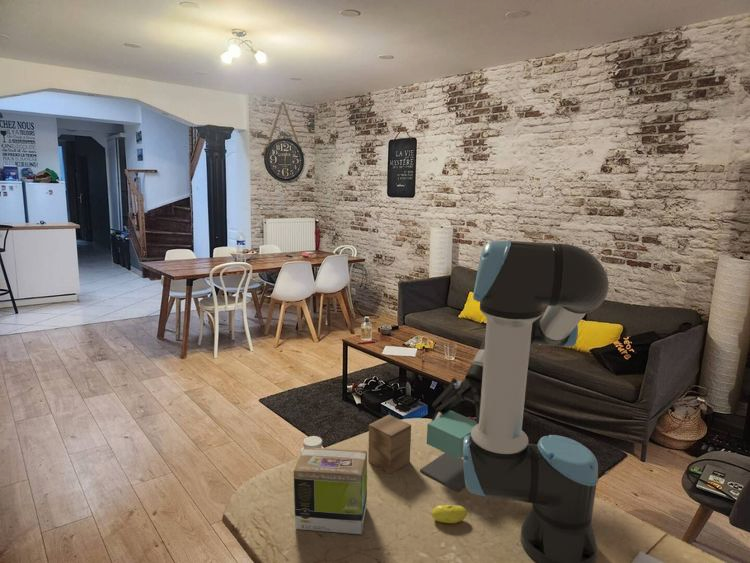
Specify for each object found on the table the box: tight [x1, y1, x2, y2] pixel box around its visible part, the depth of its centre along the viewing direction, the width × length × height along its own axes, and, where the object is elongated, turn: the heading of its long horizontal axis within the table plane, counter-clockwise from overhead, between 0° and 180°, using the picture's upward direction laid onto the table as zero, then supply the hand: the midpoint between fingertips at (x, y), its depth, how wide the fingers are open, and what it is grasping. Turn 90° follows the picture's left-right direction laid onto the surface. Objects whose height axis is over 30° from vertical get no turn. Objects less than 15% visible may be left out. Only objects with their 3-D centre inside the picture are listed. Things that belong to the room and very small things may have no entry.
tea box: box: [293, 447, 368, 535], centre depth 110 cm, size 15×10×15 cm
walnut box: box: [367, 414, 412, 475], centre depth 133 cm, size 8×8×11 cm
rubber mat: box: [419, 452, 466, 493], centre depth 130 cm, size 12×12×1 cm
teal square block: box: [426, 409, 477, 460], centre depth 129 cm, size 10×10×6 cm
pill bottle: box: [299, 435, 324, 457], centre depth 124 cm, size 6×6×11 cm
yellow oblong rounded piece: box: [431, 504, 468, 524], centre depth 111 cm, size 4×8×4 cm, turn 87°
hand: (447, 444), depth 127 cm, fingers closed on teal square block, 10 cm apart
